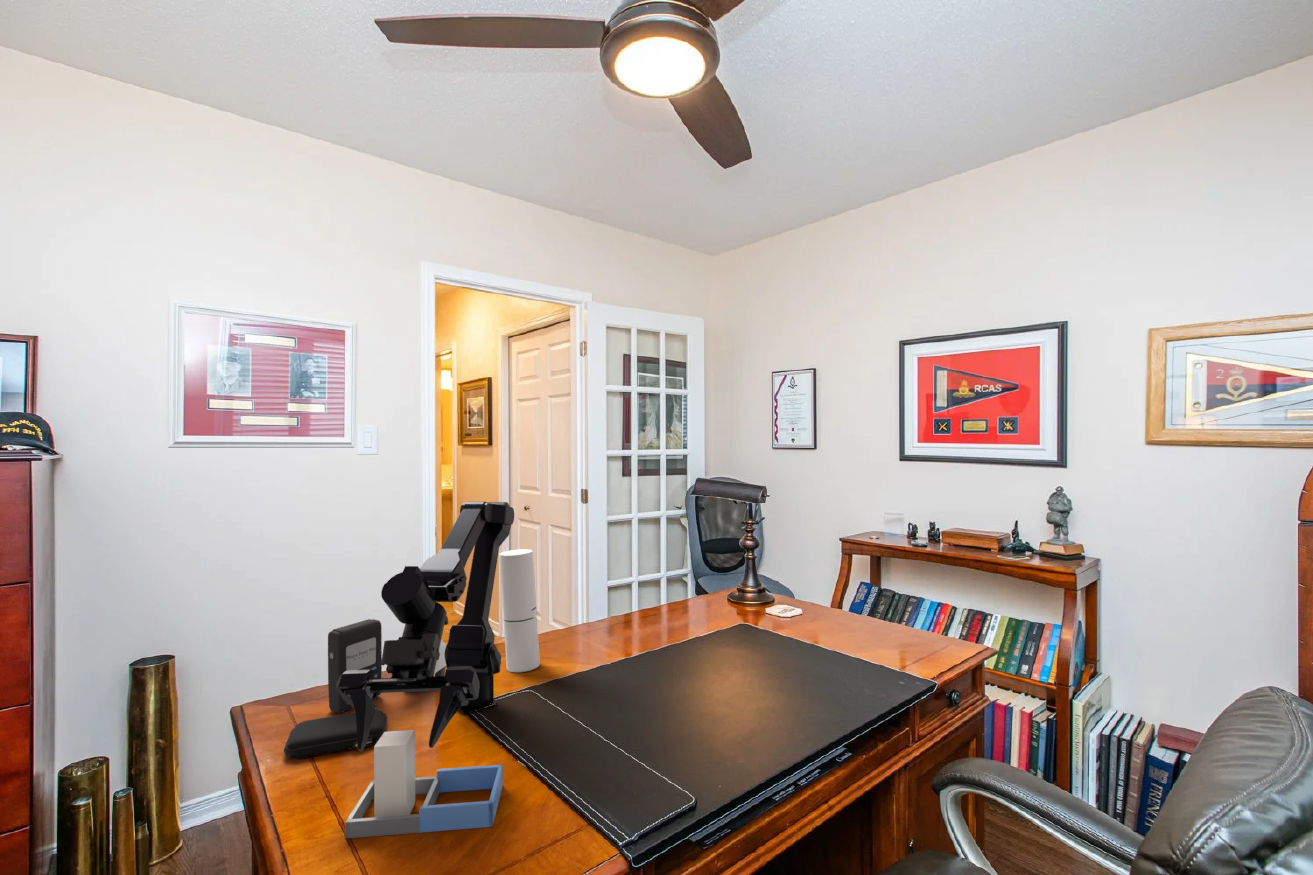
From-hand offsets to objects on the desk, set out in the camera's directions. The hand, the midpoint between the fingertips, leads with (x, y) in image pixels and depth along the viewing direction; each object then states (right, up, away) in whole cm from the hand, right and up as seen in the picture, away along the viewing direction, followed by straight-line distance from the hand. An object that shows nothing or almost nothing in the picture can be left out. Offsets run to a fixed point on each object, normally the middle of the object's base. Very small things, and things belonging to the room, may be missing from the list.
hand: (395, 748), depth 80 cm
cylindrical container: (+6, -9, +51) cm, 52 cm away
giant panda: (-13, -9, +41) cm, 44 cm away
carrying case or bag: (-18, -9, +19) cm, 28 cm away
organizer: (+4, -8, 0) cm, 10 cm away
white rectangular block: (0, -8, 0) cm, 8 cm away
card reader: (-22, -9, +33) cm, 40 cm away
